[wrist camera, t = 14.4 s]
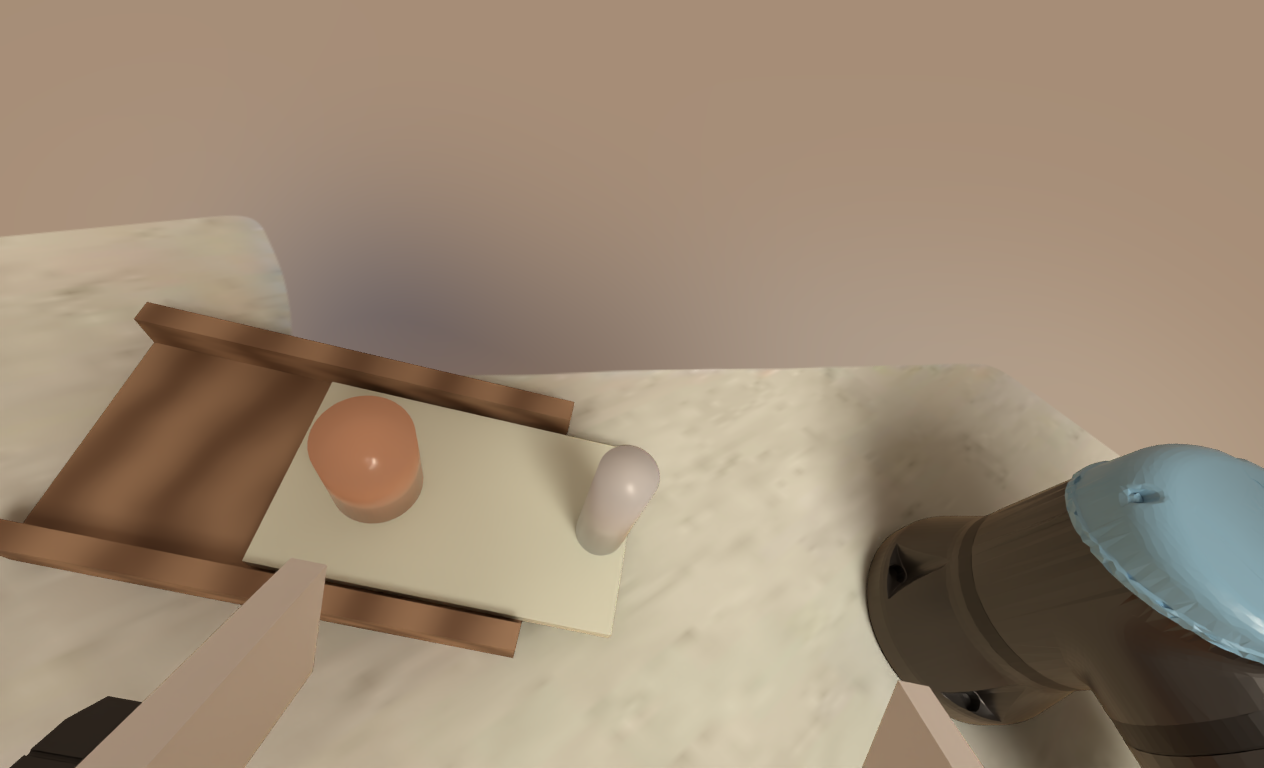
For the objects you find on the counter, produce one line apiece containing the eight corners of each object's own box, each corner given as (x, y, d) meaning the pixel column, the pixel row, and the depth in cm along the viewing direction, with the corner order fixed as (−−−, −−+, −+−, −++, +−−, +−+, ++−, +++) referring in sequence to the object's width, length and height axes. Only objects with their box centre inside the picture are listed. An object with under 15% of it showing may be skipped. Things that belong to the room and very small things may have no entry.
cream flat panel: (637, 458, 48) (676, 382, 37) (608, 637, 40) (646, 605, 30) (336, 389, 46) (289, 288, 35) (248, 565, 38) (157, 503, 28)
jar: (439, 491, 42) (435, 451, 36) (358, 541, 39) (339, 506, 33) (395, 427, 44) (384, 379, 38) (314, 471, 41) (288, 426, 35)
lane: (569, 425, 49) (574, 402, 46) (513, 657, 40) (514, 650, 37) (172, 333, 47) (147, 301, 43) (10, 559, 37) (-38, 542, 34)
